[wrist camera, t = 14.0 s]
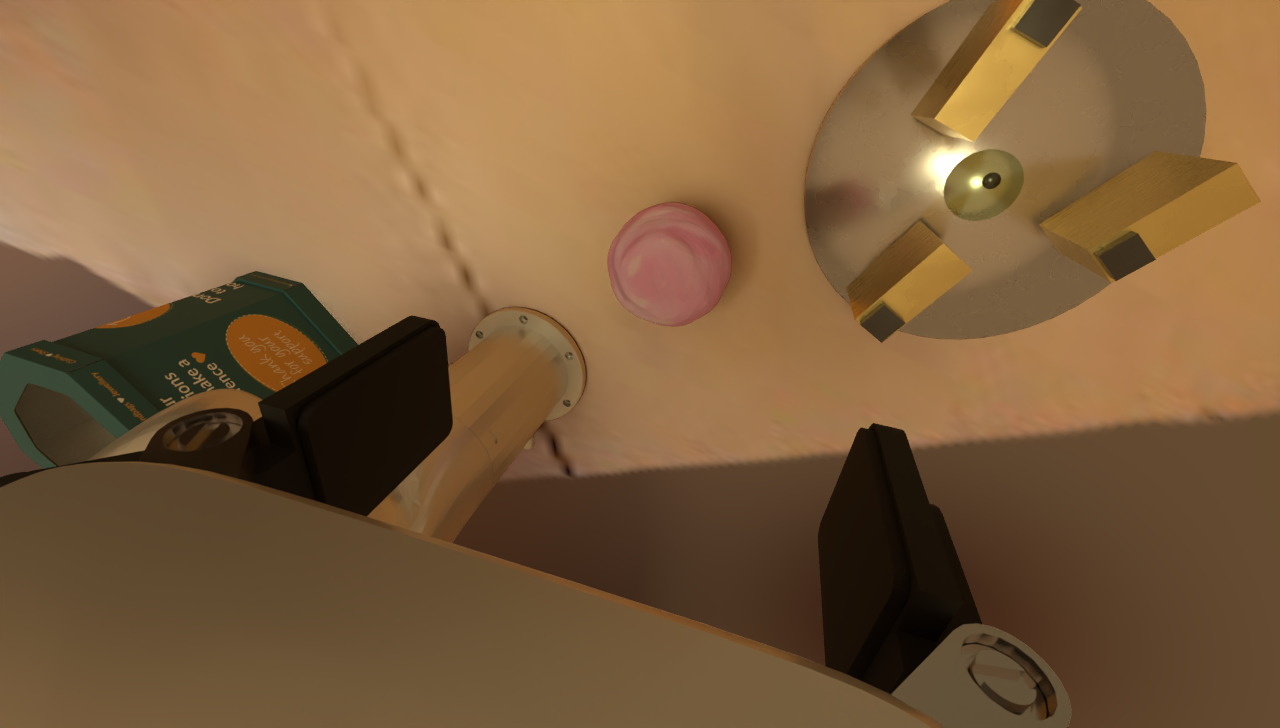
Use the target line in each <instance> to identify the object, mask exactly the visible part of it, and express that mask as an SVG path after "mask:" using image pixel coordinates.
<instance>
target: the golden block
mask: <svg viewBox="0 0 1280 728" xmlns="http://www.w3.org/2000/svg"><path fill="white" fill-rule="evenodd" d="M971 271H973V270H972V269H971V268H970V267H969V266H968V265H967V264H966V263H965V262H964V261H963V260H962V259H961V258H960V257H959V256H958V255H957V254H956V253H955V252H954V251H953V250H952V249H950V248H949V247H948V246H947V245H946V244H945V243H944V242H943V241H942V240H941V239H940V238H939V237H938V236H936V235H935V234H934V233H933V232H932V231H931V230H930V229H929V228H928V227H926V226H925V225H924V224H923V223H922V222H921V221H920V220H919V221H918V222H917V223H916V224H915V225H914V226H913V227H911V228H910V229H909V230H908V231H907V232H906V233H905V234H904V235H903V236H902V237H901V238H899V239H898V240H897V241H896V242H895V243H894V244H893V245H892V246H891V247H890V248H888V249H887V250H886V251H885V252H884V253H883V254H882V255H881V256H880V257H879V258H877V259H876V260H875V261H874V262H873V263H872V264H871V265H870V266H869V267H868V268H866V269H865V270H864V271H863V272H862V273H861V274H860V275H859V276H858V277H857V278H856V279H854V280H853V281H852V282H851V283H850V284H849V285H848V286H847V287H846V289H847V292H848V296H849V300H850V303H851V307H852V310H853V314H854V318H855V320H856V321H857V322H859V323H860V324H861V326H863V327H864V328H865V329H866V330H867V331H868V332H870V333H871V334H872V335H873V336H874V337H875V338H877V339H878V340H879V341H880V342H881V343H883V342H884V341H885V340H887V339H888V338H889V337H890V336H892V335H893V334H894V333H895V332H897V331H898V330H899V329H900V328H901V327H903V326H904V325H905V324H906V323H908V322H909V321H910V320H911V319H913V318H914V317H915V316H916V315H918V314H919V313H920V312H921V311H923V310H924V309H925V308H926V307H928V306H929V305H930V304H931V303H933V302H934V301H935V300H936V299H938V298H939V297H940V296H941V295H943V294H944V293H945V292H946V291H948V290H949V289H950V288H951V287H953V286H954V285H955V284H956V283H958V282H959V281H960V280H961V279H963V278H964V277H965V276H966V275H968V274H969V273H970V272H971Z"/></svg>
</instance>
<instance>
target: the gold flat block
mask: <svg viewBox="0 0 1280 728" xmlns="http://www.w3.org/2000/svg"><path fill="white" fill-rule="evenodd" d="M1259 202H1261V200H1260V199H1259V197H1258V196H1257V194H1256V192H1255V191H1254V189H1253V188H1252V186H1251V184H1250V183H1249V181H1248V180H1247V178H1246V176H1245V175H1244V173H1243V172H1242V170H1241V168H1240V167H1239V165H1238V163H1233V162H1226V161H1219V160H1213V159H1206V158H1199V157H1193V156H1186V155H1179V154H1173V153H1166V152H1159V151H1154V152H1153V153H1151V154H1150V155H1148V156H1147V157H1145V158H1143V159H1142V160H1140V161H1139V162H1137V163H1135V164H1134V165H1132V166H1131V167H1129V168H1128V169H1126V170H1124V171H1123V172H1121V173H1120V174H1118V175H1116V176H1115V177H1113V178H1112V179H1110V180H1108V181H1107V182H1105V183H1104V184H1102V185H1101V186H1099V187H1097V188H1096V189H1094V190H1093V191H1091V192H1089V193H1088V194H1086V195H1085V196H1083V197H1082V198H1080V199H1078V200H1077V201H1075V202H1074V203H1072V204H1070V205H1069V206H1067V207H1066V208H1064V209H1063V210H1061V211H1059V212H1058V213H1056V214H1055V215H1053V216H1051V217H1050V218H1048V219H1047V220H1045V221H1043V222H1042V223H1040V224H1039V226H1040V227H1041V228H1042V230H1043V231H1044V232H1045V234H1046V235H1047V237H1048V238H1049V239H1050V241H1051V242H1052V243H1053V245H1054V246H1055V248H1056V249H1057V250H1058V252H1059V253H1061V254H1063V255H1065V256H1066V257H1068V258H1070V259H1071V260H1073V261H1075V262H1077V263H1078V264H1080V265H1082V266H1083V267H1085V268H1087V269H1089V270H1090V271H1092V272H1094V273H1095V274H1097V275H1099V276H1101V277H1102V278H1104V279H1106V280H1107V281H1109V282H1113V281H1115V280H1116V281H1117V280H1119V279H1121V278H1123V277H1124V276H1126V275H1128V274H1130V273H1132V272H1134V271H1136V270H1137V269H1139V268H1141V267H1143V266H1145V265H1147V264H1148V263H1150V262H1152V261H1154V260H1156V258H1158V257H1159V256H1161V255H1163V254H1165V253H1167V252H1169V251H1170V250H1172V249H1174V248H1176V247H1178V246H1180V245H1182V244H1183V243H1185V242H1187V241H1189V240H1191V239H1193V238H1194V237H1196V236H1198V235H1200V234H1202V233H1204V232H1206V231H1207V230H1209V229H1211V228H1213V227H1215V226H1217V225H1218V224H1220V223H1222V222H1224V221H1226V220H1228V219H1230V218H1231V217H1233V216H1235V215H1237V214H1239V213H1241V212H1242V211H1244V210H1246V209H1248V208H1250V207H1252V206H1254V205H1255V204H1257V203H1259Z"/></svg>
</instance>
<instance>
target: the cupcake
mask: <svg viewBox="0 0 1280 728" xmlns="http://www.w3.org/2000/svg"><path fill="white" fill-rule="evenodd" d="M607 263H608V272H609V276H610V280H611V286H612V288H613V292H614V294H615V296H616V297H617V299H618V300H619V302H620V303H621V304H622V305H623V306H624V307H625V308H626V309H627V310H628V311H629V312H630V313H632V314H633V315H635V316H637V317H639V318H642V319H644V320H647V321H649V322H652V323H655V324H658V325H663V326H682V325H686V324H689V323H691V322H693V321H694V320H696V319H698V318H700V317H702V316H703V315H705V314H707V313H708V312H709V311H711V310H712V309H713V308H714V307H715V305H716V304H717V303H718V301H719V300H720V298H721V296H722V294H723V292H724V290H725V288H726V285H727V283H728V281H729V278H730V275H731V269H732V260H731V253H730V249H729V246H728V243H727V241H726V239H725V237H724V236H723V234H722V232H721V231H720V230H719V228H718V227H717V226H716V225H715V224H714V223H713V222H712V221H711V220H710V219H709V218H708V217H707V216H706V215H705V214H703V213H702V212H701V211H699V210H697V209H696V208H694V207H691V206H689V205H685V204H682V203H676V202H669V203H662V204H658V205H655V206H652V207H649V208H646V209H644V210H642V211H641V212H639V213H637V214H636V215H635V216H634V217H633V218H631V219H630V220H629V221H628V222H627V223H626V224H625V225H624V226H623V228H622V229H621V230H620V232H619V233H618V235H617V236H616V237H615V239H614V240H613V242H612V245H611V247H610V250H609V253H608V262H607Z"/></svg>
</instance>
